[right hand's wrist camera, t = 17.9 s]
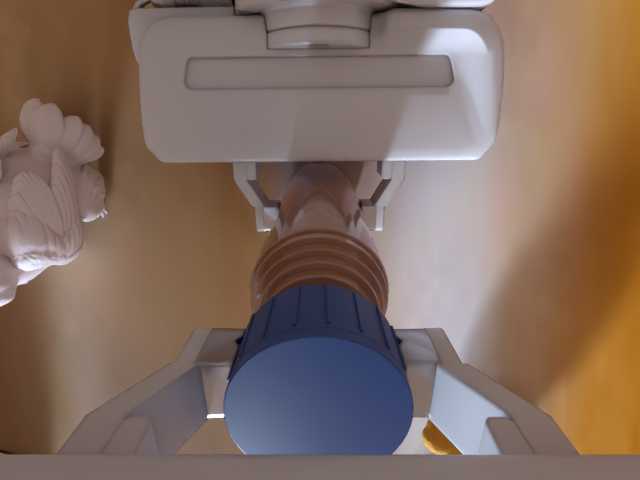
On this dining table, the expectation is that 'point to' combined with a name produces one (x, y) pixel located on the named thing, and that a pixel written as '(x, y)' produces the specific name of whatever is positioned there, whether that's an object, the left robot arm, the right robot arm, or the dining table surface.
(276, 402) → the cap
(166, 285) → the dining table surface
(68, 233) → the figurine
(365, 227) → the bottle
